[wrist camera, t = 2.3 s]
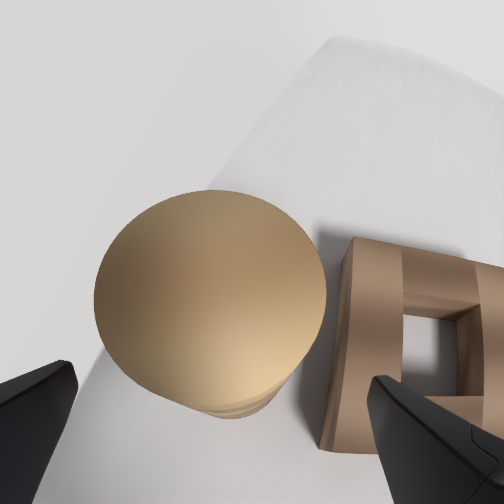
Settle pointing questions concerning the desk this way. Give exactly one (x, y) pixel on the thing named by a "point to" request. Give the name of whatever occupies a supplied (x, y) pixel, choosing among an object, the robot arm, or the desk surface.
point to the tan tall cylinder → (211, 300)
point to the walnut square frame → (391, 335)
